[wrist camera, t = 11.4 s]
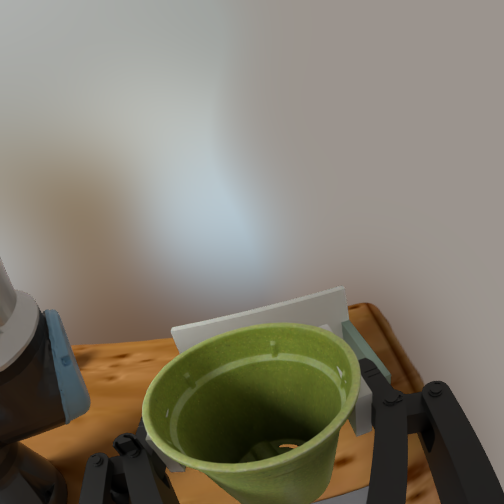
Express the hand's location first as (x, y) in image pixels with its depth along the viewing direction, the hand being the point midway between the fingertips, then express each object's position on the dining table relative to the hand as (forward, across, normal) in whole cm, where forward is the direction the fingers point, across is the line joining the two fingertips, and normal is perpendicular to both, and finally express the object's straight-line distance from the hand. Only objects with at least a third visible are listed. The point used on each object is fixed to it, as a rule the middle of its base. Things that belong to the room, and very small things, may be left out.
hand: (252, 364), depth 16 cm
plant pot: (-5, 0, +6) cm, 8 cm away
